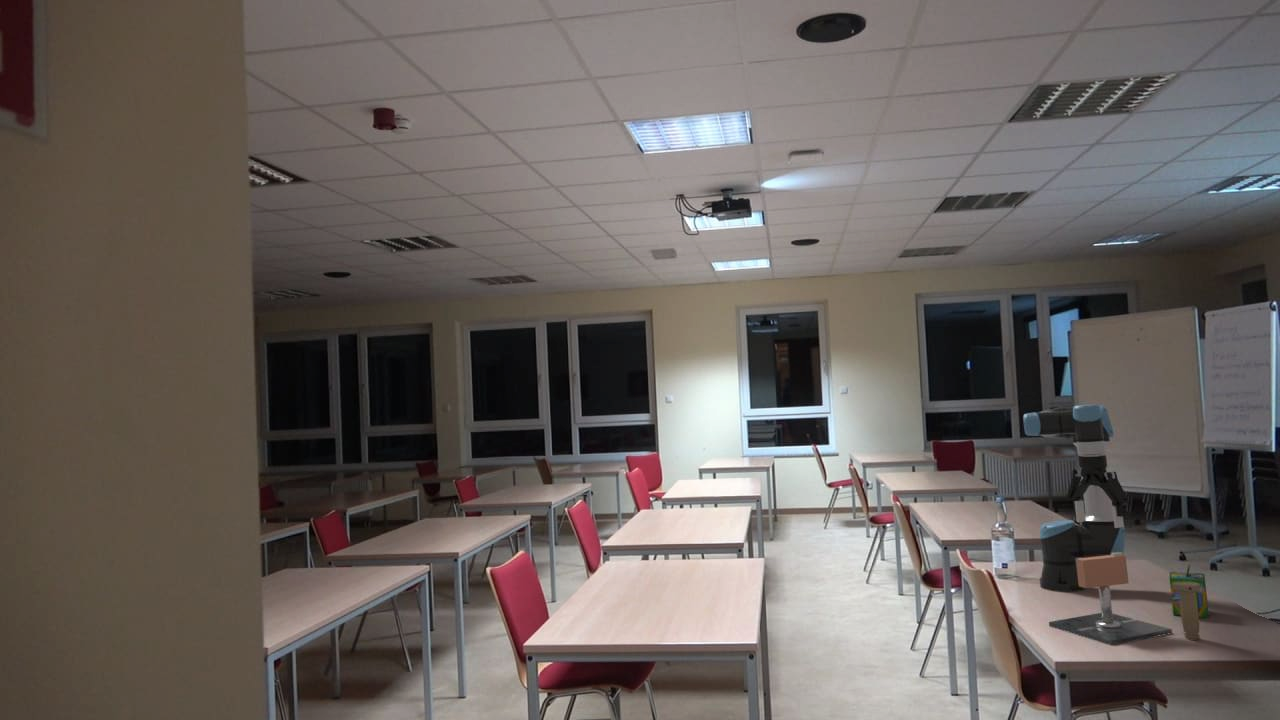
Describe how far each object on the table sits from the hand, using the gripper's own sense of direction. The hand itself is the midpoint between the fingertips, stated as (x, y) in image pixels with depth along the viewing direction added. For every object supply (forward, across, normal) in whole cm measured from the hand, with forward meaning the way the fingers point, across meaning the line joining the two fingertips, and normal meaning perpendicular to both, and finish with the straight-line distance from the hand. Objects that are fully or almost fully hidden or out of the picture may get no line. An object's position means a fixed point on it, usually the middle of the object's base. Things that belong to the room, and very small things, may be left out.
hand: (1099, 524), depth 237 cm
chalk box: (+30, -5, -26) cm, 40 cm away
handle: (+29, -23, -4) cm, 37 cm away
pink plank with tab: (+16, -5, +7) cm, 18 cm away
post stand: (+29, -6, +7) cm, 30 cm away
